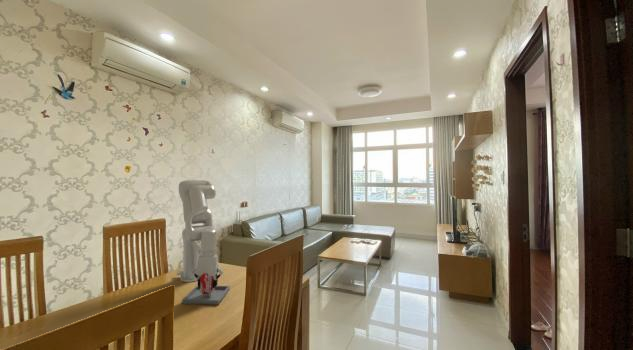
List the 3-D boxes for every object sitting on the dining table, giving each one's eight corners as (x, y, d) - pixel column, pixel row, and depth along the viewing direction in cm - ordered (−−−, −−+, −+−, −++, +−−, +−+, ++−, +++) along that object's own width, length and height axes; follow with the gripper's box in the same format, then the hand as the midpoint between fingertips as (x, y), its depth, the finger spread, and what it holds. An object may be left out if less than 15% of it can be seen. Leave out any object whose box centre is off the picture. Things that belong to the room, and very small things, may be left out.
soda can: (200, 296, 127) (200, 273, 127) (199, 290, 133) (200, 268, 133) (215, 294, 130) (215, 271, 130) (213, 288, 136) (214, 266, 136)
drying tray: (182, 304, 124) (182, 299, 124) (197, 289, 140) (197, 285, 140) (218, 304, 124) (218, 300, 124) (229, 289, 140) (229, 285, 140)
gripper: (188, 254, 128) (187, 289, 128) (222, 255, 128) (221, 290, 128) (195, 250, 135) (194, 283, 135) (227, 251, 135) (226, 284, 136)
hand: (207, 286), depth 132 cm, fingers closed on soda can, 7 cm apart
